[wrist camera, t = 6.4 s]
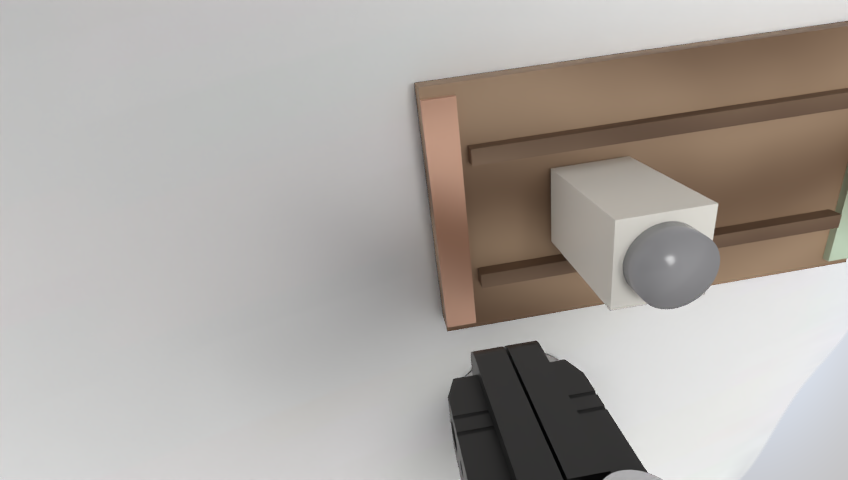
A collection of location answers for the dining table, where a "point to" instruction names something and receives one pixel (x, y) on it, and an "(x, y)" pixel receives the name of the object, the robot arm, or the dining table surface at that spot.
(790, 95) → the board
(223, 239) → the dining table surface
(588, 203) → the slider knob
